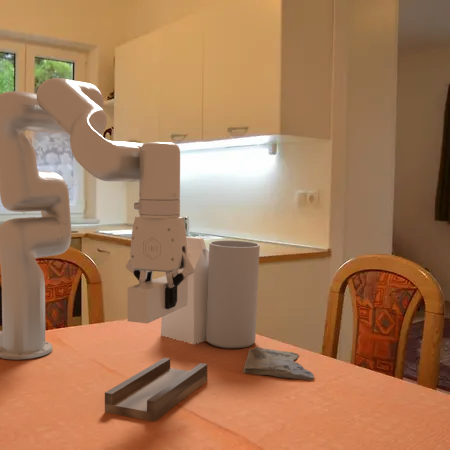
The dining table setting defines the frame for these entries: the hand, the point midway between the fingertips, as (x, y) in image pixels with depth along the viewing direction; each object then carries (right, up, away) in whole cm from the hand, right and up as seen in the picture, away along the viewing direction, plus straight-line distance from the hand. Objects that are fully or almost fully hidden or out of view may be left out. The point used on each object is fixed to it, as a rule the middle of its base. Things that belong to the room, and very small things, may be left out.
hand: (159, 305), depth 110 cm
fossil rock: (+24, -17, +20) cm, 36 cm away
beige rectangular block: (0, -1, 0) cm, 1 cm away
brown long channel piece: (0, -17, +1) cm, 17 cm away
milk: (+4, -14, +44) cm, 46 cm away
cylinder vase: (+14, -14, +38) cm, 43 cm away
